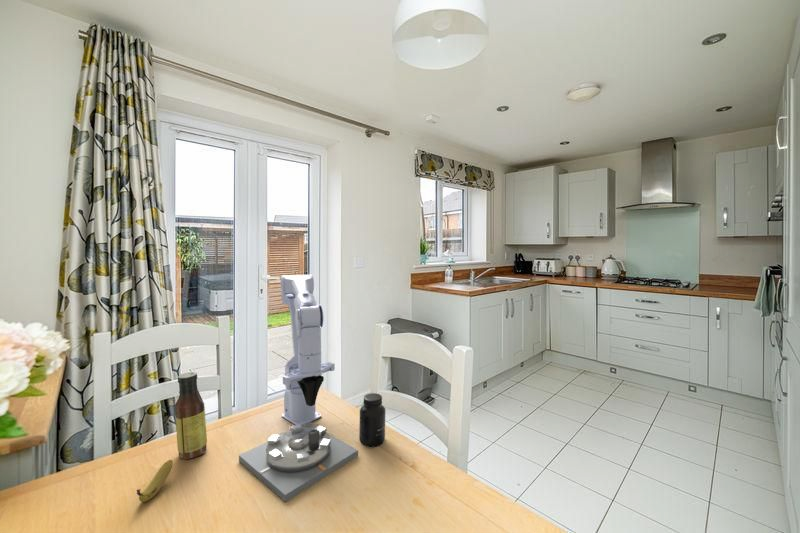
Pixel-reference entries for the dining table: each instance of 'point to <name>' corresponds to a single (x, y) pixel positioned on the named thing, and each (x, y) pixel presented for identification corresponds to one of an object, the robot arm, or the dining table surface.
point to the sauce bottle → (190, 418)
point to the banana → (156, 482)
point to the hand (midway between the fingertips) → (310, 404)
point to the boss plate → (296, 482)
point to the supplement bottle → (372, 421)
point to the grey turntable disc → (298, 448)
